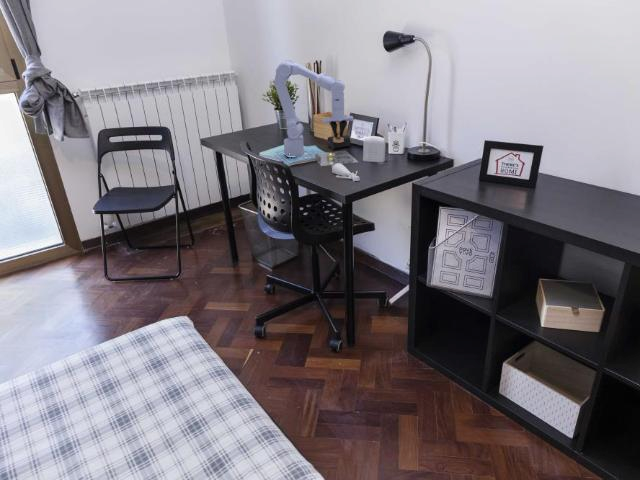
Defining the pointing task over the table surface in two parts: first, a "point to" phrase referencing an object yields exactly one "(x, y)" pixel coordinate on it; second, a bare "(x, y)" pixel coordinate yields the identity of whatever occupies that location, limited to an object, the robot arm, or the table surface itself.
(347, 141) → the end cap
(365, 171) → the table surface
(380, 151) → the photo printer
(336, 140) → the gear
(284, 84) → the robot arm
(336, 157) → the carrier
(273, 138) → the table surface
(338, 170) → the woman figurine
